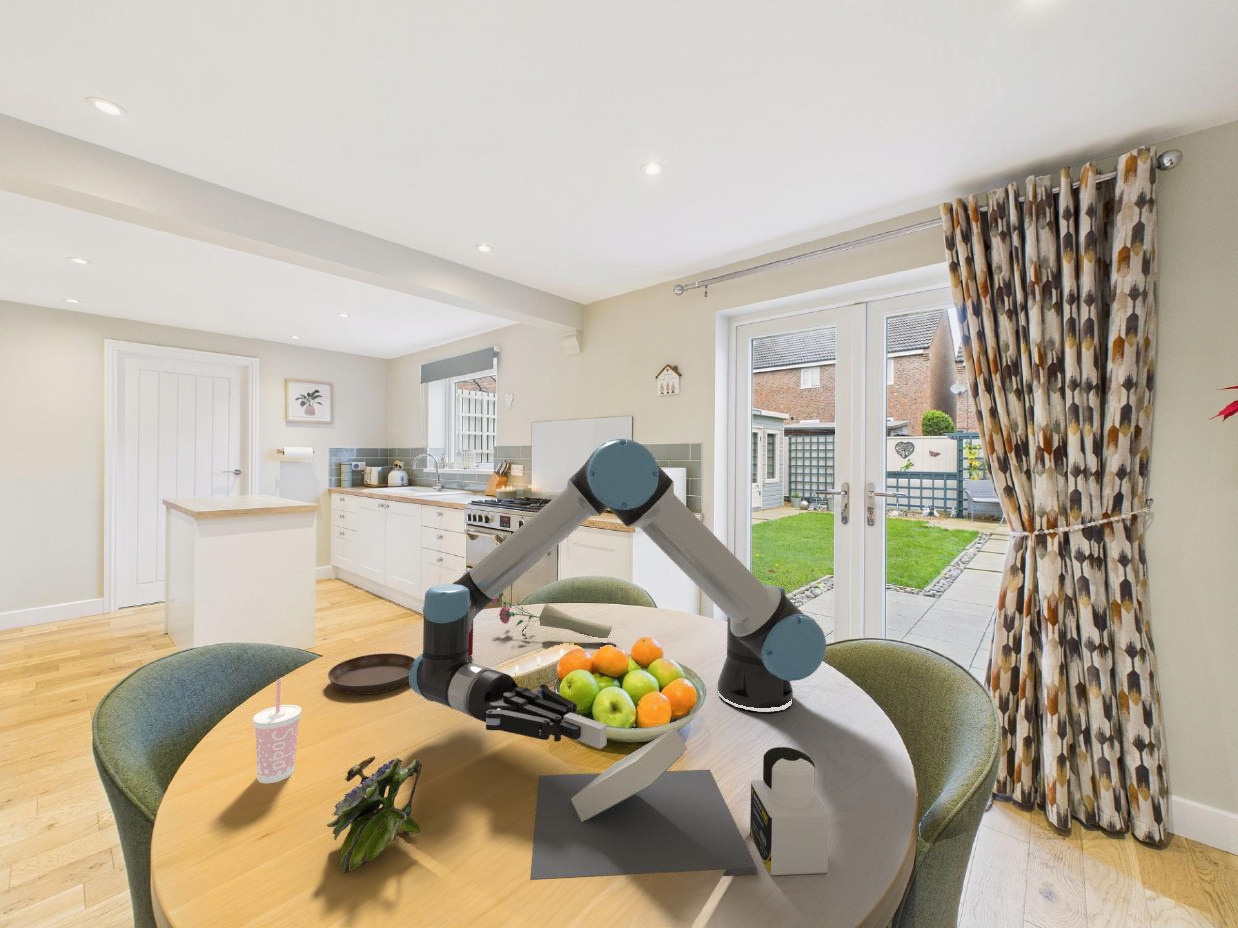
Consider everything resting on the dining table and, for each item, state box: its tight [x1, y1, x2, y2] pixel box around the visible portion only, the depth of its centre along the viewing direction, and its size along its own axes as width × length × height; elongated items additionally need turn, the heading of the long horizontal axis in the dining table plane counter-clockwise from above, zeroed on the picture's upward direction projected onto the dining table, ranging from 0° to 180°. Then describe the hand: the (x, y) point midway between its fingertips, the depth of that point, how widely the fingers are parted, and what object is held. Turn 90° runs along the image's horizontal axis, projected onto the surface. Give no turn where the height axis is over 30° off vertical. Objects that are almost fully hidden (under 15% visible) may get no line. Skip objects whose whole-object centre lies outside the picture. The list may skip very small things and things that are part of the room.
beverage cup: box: [252, 678, 303, 784], centre depth 79 cm, size 6×6×14 cm
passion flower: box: [326, 755, 423, 873], centre depth 66 cm, size 11×11×12 cm
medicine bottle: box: [749, 746, 830, 876], centre depth 65 cm, size 7×7×12 cm
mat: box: [529, 769, 758, 881], centre depth 70 cm, size 26×20×1 cm
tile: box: [571, 727, 688, 822], centre depth 71 cm, size 3×10×13 cm
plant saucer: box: [327, 652, 416, 695], centre depth 114 cm, size 18×18×3 cm
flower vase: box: [491, 591, 613, 638], centre depth 145 cm, size 12×12×35 cm
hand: (603, 736), depth 73 cm, fingers closed
